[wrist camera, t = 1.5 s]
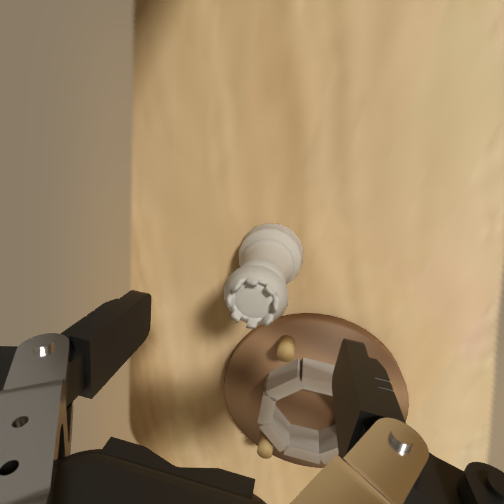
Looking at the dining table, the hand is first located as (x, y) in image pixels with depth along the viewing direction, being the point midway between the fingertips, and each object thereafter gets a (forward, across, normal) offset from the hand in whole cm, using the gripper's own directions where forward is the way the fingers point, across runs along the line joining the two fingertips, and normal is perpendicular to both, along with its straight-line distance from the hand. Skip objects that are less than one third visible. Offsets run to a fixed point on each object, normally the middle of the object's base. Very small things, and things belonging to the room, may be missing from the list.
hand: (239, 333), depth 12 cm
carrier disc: (+10, -5, +10) cm, 15 cm away
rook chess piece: (+10, 0, 0) cm, 10 cm away
